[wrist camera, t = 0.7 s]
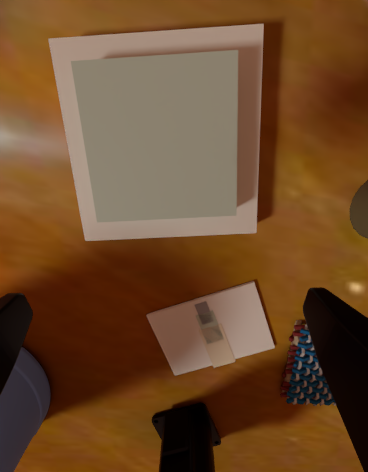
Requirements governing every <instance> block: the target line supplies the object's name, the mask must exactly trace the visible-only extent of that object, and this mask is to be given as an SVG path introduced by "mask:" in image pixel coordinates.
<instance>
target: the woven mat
mask: <svg viewBox="0 0 368 472" xmlns="http://www.w3.org/2000/svg"><path fill="white" fill-rule="evenodd" d="M301 324H302V320H296V324H295V325H294V331H293V336H291V337H289V341H291V342H292V344H291V345H290V351H289V350H288V354H289V357H288V359H287V360H288V363H287V364H286V367H287V368H286V369H285V372H284V373H283V374H282V376H283V377H284V381H283V385H282V386H281V389H282V393H281V394H280V395H281V397H287V400H286V402H287V403H291V402H293V403H292V404H294V405H295V404H296V403H298V404H303V403H304V402H305V401H306V402H305V404H306V405H307V404H309V403H312V404H313V406H316V405H317V404H319V403H320V402H321V403H320V406H321V405H323V404H325V405H330V404H331V403H333V402H334V404H333V405H336V403H335V401H334V398H333V396H332V393H331V391H330V389H329V386H328V384H327V382H326V379H325V377H324V374H323V372H322V370H321V367H320V365H319V362H318V359H317V356H316V353H315V350H314V347H313V343H312V340H311V337H310V333H309V330H308V327H307V324H305V325H301ZM296 350H297V351H296ZM293 362H295V363H294V364H293ZM292 368H293V369H292ZM322 375H323V376H322ZM323 381H324V382H323ZM286 391H287V392H286ZM289 397H290V398H289Z"/></svg>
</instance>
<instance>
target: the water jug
mask: <svg viewBox="0 0 368 472" xmlns="http://www.w3.org/2000/svg"><path fill="white" fill-rule="evenodd" d="M50 398H51V393H50V386H49V382H48V379H47V376H46V374H45V372H44V370H43V368H42V367H41V365H40V364H39V363H38V361H37V360H36V359H35V358H34V357H33V356H32V355H31V354H30V353H29V352H28V351H27V350H26V349H25V348H23V347H21V350H20V353H19V355H18V358H17V360H16V363H15V365H14V367H13V370H12V372H11V374H10V376H9V378H8V380H7V382H6V384H5V387H4V389H3V391H2V393H1V395H0V472H14V470H15V468H16V466H17V464H18V463H19V461H20V459H21V457H22V455H23V454H24V452H25V450H26V448H27V446H28V444H29V443H30V441H31V439H32V438H33V436H34V435H35V434H36V433H37V431H38V429H39V427H40V426H41V424H42V422H43V420H44V418H45V416H46V414H47V412H48V409H49V405H50Z"/></svg>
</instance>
